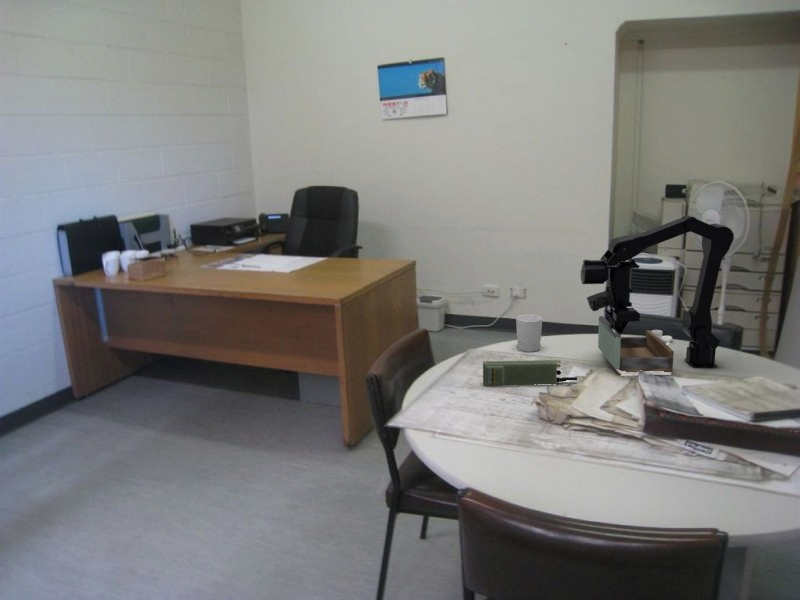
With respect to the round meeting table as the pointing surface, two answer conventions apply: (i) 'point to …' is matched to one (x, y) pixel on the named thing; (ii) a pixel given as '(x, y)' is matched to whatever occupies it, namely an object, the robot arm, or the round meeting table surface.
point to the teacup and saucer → (663, 338)
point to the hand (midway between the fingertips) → (617, 336)
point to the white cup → (529, 332)
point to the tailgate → (609, 342)
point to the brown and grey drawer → (645, 354)
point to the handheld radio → (522, 372)
